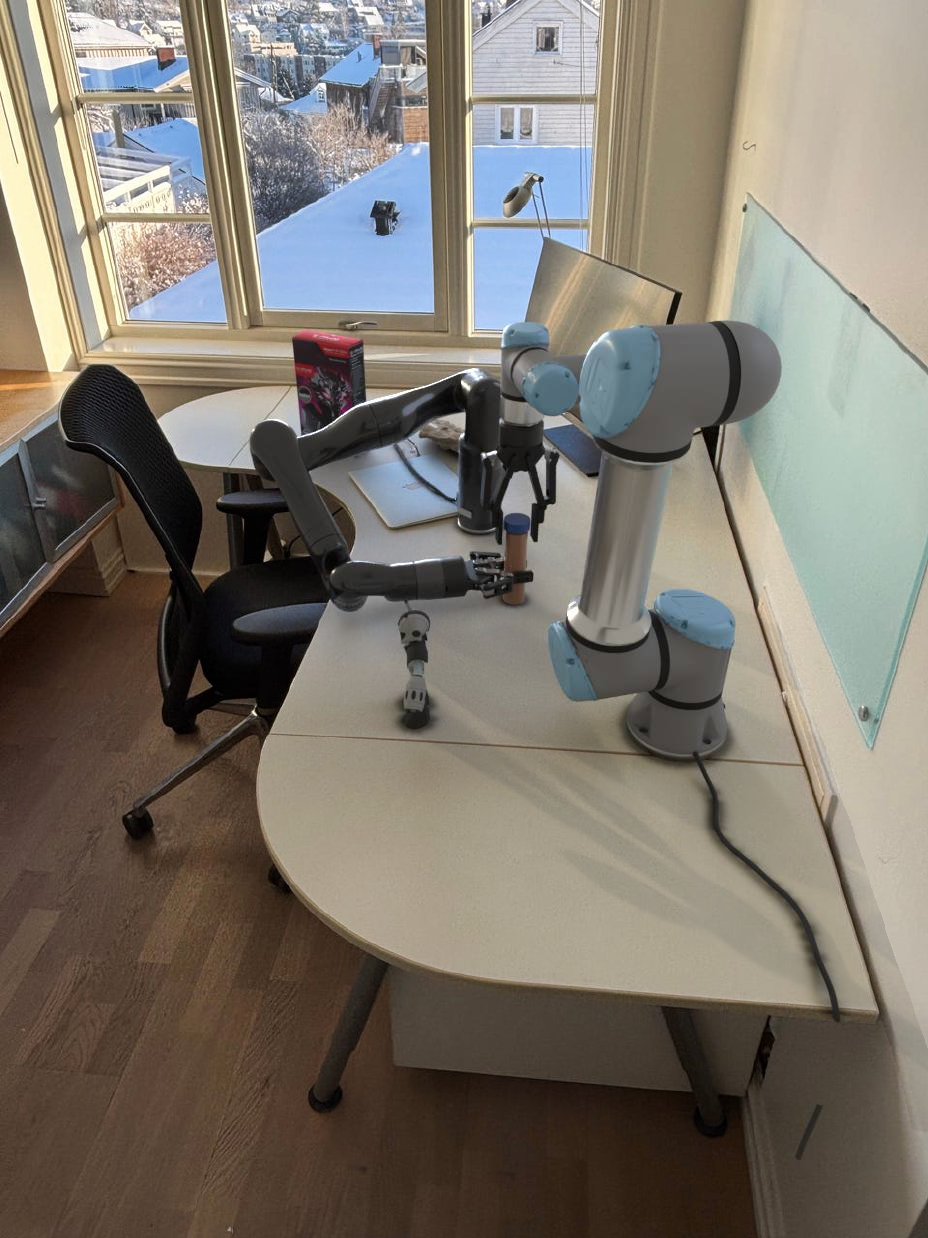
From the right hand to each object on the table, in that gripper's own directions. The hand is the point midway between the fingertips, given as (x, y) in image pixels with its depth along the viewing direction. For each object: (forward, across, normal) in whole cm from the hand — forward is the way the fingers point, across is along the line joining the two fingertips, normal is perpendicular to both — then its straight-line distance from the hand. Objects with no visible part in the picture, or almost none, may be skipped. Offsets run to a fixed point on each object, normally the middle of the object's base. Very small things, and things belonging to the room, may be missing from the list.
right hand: (516, 539), depth 167 cm
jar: (+13, 0, 0) cm, 13 cm away
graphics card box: (+13, +28, -78) cm, 84 cm away
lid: (-4, 0, 0) cm, 4 cm away
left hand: (+7, -3, 0) cm, 7 cm away
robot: (+13, +23, +30) cm, 40 cm away
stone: (+13, -1, -70) cm, 72 cm away
